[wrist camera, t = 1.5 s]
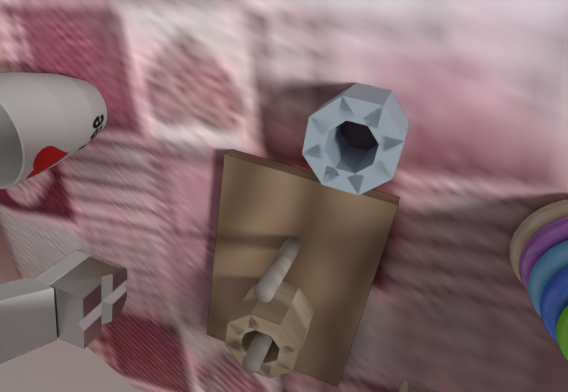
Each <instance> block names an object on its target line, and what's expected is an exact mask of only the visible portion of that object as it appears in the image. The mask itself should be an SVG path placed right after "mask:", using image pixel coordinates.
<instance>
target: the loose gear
mask: <svg viewBox="0 0 568 392" xmlns="http://www.w3.org/2000/svg"><path fill="white" fill-rule="evenodd" d="M345 121H350V122H354V123H358V124H362V125H366V126H368V127H369V129H370V131H371V132H372V134H373V135H374V137H375V139H376V140H377V142H378V144H377V145H376V146H374V147H372V148H370V149H368V150H363V149H359V148H355V147H352V146H349V145H348V143H347V141H346V140H345V138H344V137H343V135H342V133H341V132H340V129H341V125H342V123H343V122H345ZM408 125H409V120H408V118H407V117H406V115H405V113H404V111H403V110H402V108H401V106H400V105H399V103H398V101H397V99H396V98H395V96H394V94H393V93H392V91H390V90H386V89H381V88H377V87H373V86H368V85H364V84H360V83H355V84H354V85H352V86H351V87H349V88H348V89H346V90H344V91H343V92H341V93H340V94H338V95H337V96H335V97H334V98H332V99H330V100H329V101H327V102H326V103H325V104H324V105H322V106H321V107H320V108H319V109H318V110H317V111H315V112H314V113H313V114H312V115H311V116H309V120H308V125H307V130H306V135H305V140H304V145H303V150H302V154H303V156H304V157H305V159H306V161H307V162H308V164H309V165H310V167H311V168H312V170H313V171H314V173H315V174H316V176H317V178H318V179H319V181H320V182H321V184H322V185H325V186H328V187H332V188H335V189H338V190H342V191H345V192H349V193H352V194H355V195H360V194H362V193H364V192H366V191H369V190H371V189H373V188H375V187H377V186H379V185H381V184H383V183H385V182H387V181H389V180H391V179H393V177H394V173H395V170H396V167H397V164H398V161H399V158H400V154H401V151H402V148H403V145H404V142H405V138H406V134H407V130H408Z"/></svg>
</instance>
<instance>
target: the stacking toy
mask: <svg viewBox="0 0 568 392" xmlns="http://www.w3.org/2000/svg"><path fill="white" fill-rule="evenodd" d="M509 256H510V263H511V266H512V269H513V271H514V273H515V275H516V276H517V278H518V279H519V281H520V282H521V283H522V284H523V286H524V288H525V290H526V291H527V293H528V294H529V297H530V300H531V303H532V305H533V307H534V309H535V310H536V312H537V313H538V315H539V316H540V317H541V319H542V322H543V324H544V326H545V328H546V330H547V331H548V333H549V334H550V335H551V337H552V338H553V339H554V340H555V341H556V342H557V343H558V345H559V347H560V350H561V352H562V353H563V355H564V357H565V358H566V359H567V361H568V199H566V200H561V201H557V202H554V203H551V204H548V205H546V206H544V207H542V208H540V209H538V210H536V211H535V212H533V213H532V214H531V215H529V216H528V217H527V218H526V219H525V220H524V221H523V222H522V223H521V224H520V225H519V227H518V228H517V230H516V231H515V233H514V235H513V238H512V240H511V244H510V250H509Z"/></svg>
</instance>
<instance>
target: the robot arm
mask: <svg viewBox="0 0 568 392" xmlns="http://www.w3.org/2000/svg"><path fill="white" fill-rule="evenodd" d="M126 279H127V269H126V268H124V267H122V266H120V265H118V264H115V263H113V262H111V261H108V260H106V259H104V258H101V257H99V256H97V255H93V254H91V253H89V252H86V251H84V250H82V249H80V250H75V251H74V252H72V253H71V254H69V255H68V256H66V257H65V258H63V259H62V260H60V261H59V262H57V263H56V264H54V265H53V266H52V267H50V268H49V269H47V270H46V271H44V272H43V273H41V274H40V275H38V276H37V277H35V278H34V279H32V278H29V277H27V278H23V279H18V280H14V281H10V282H5V283H1V284H0V364H1V363H4V362H6V361H8V360H10V359H13V358H15V357H17V356H20V355H22V354H24V353H27V352H29V351H32V350H34V349H36V348H38V347H41V346H43V345H45V344H48V343H50V342H53V341H55V340H57V338H59V339H62V340H64V341H67V342H69V343H72V344H74V345H76V346H79V347H81V348H85V347H87V346H88V345H89V344H90V343H91V342H92V341H93V340H94V339H95V338H96V337H97V336H98V335H99V334H100V333H101V328H102V324H105V323H108V322H111V321H113V320H114V319H115V318H116V317H117V316H118V314H119V313H120V311H121V310H122V308H123V306H124V304H125V301H126V297H127V290H126V288H125V286H124V285H123V282H124V281H125V280H126ZM399 392H439V391H436V390H434V389H431V388H428V387H426V386H423V385H421V384H418V383H415V382H413V381H410V380H408V379H405V380H404V381H403V383H402V385H401V387H400V390H399Z"/></svg>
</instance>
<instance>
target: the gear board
mask: <svg viewBox="0 0 568 392" xmlns="http://www.w3.org/2000/svg"><path fill="white" fill-rule="evenodd" d="M399 199H400V197H397V196H394V195H390V194H387V193H383V192H380V191H376V190H373V189H371V190H369V191H366V192H364V193H362V194H360V195H355V194H352V193H349V192H345V191H342V190H338V189H335V188H332V187H328V186H325V185H322V184H321V182H320V181H319V179H318V178H317V176H316V174H315V173H313V172H310V171H306V170H303V169H299V168H296V167H292V166H289V165H286V164H282V163H279V162H275V161H272V160H268V159H265V158H261V157H258V156H254V155H251V154H247V153H244V152H240V151H237V150H233V149H232V150H231V151H230V152H228V153H227V154H225V156H224V166H223V176H222V186H221V196H220V206H219V216H218V226H217V235H216V245H215V255H214V265H213V275H212V285H211V295H210V305H209V315H208V324H207V335H209V336H212V337H214V338H217V339H219V340H222V341H224V342H225V345H226V347H227V348H228V349H229V350H230V352H231V353H232V354H233V356H234V357H235V358H236V360H237V361H238V362H239V364H240V365H241V366H242V367H243V368H244V369H245V370H247V371H248V372H251V373H258V374H260V375H263V376H265V377H268V378H271V377H274V376H278V375H282V374H286V373H289V372H292V371H293V369H294V370H297V371H299V372H301V373H304V374H306V375H309V376H311V377H314V378H316V379H319V380H321V381H324V382H326V383H329V384H331V385H334V386H336V387H338V385H339V382H340V379H341V376H342V373H343V370H344V367H345V364H346V361H347V358H348V355H349V352H350V349H351V346H352V343H353V340H354V337H355V334H356V331H357V328H358V325H359V322H360V319H361V316H362V313H363V310H364V307H365V304H366V301H367V298H368V295H369V292H370V289H371V286H372V283H373V280H374V277H375V274H376V271H377V268H378V265H379V262H380V259H381V256H382V253H383V250H384V247H385V244H386V241H387V238H388V235H389V232H390V229H391V226H392V223H393V220H394V217H395V214H396V211H397V208H398V204H399Z"/></svg>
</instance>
